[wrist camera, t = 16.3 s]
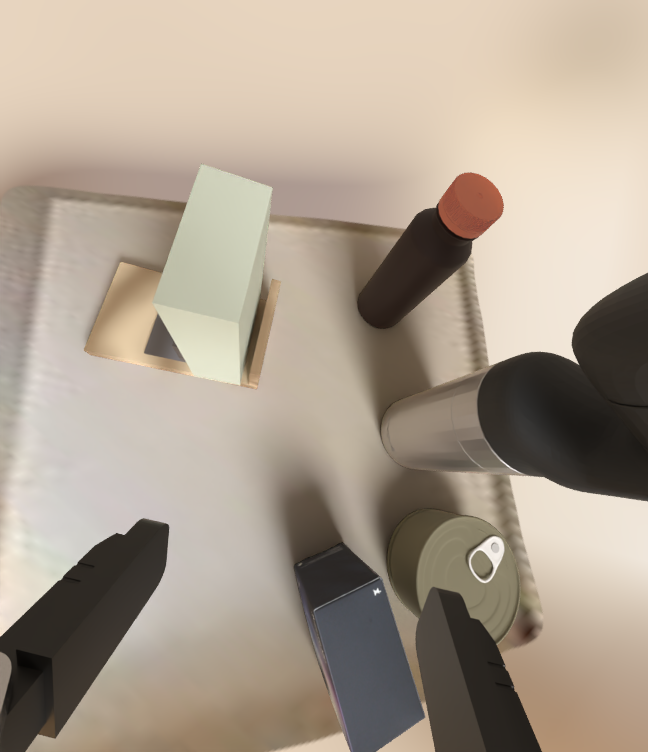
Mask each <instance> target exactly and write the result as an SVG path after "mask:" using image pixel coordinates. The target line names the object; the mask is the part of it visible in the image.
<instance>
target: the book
mask: <svg viewBox="0 0 648 752" xmlns="http://www.w3.org/2000/svg"><path fill="white" fill-rule="evenodd" d="M272 190H273V188H272V187H270V186H267V185H264V184H261V183H258V182H255V181H252V180H249V179H246V178H242V177H240V176H237V175H234V174H231V173H227V172H224V171H222V170H219V169H216V168H213V167H210V166H206V165H204V164H201V165H200V168H199V171H198V174H197V177H196V180H195V182H194V185H193V188H192V191H191V194H190V197H189V199H188V202H187V205H186V208H185V211H184V214H183V216H182V219H181V222H180V225H179V228H178V231H177V233H176V236H175V239H174V242H173V245H172V248H171V250H170V253H169V256H168V259H167V262H166V265H165V267H164V270H163V273H162V276H161V279H160V282H159V285H158V287H157V290H156V293H155V296H154V299H153V302H152V303H153V305H154V307H155V309H156V310H157V312H158V314H159V316H160V317H161V319H162V321H163V323H164V324H165V326H166V328H167V330H168V331H169V333H170V335H171V337H172V338H173V340H174V342H175V344H176V345H177V347H178V349H179V351H180V352H181V354H182V356H183V358H184V359H185V361H186V363H187V365H188V366H189V368H190V370H191V372H192V373H193V375H194V376H195V377H200V378H205V379H210V380H215V381H220V382H225V383H231V384H236V385H240V384H241V380H242V375H243V371H244V367H245V362H246V358H247V354H248V350H249V345H250V341H251V337H252V333H253V328H254V324H255V320H256V315H257V311H258V307H259V303H260V296H261V287H262V278H263V269H264V260H265V252H266V243H267V234H268V225H269V216H270V207H271V199H272Z"/></svg>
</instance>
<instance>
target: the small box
mask: <svg viewBox="0 0 648 752" xmlns="http://www.w3.org/2000/svg"><path fill="white" fill-rule="evenodd" d="M294 569H295V574H296V579H297V583H298V587H299V592H300V595H301V600H302V604H303V607H304V611H305V615H306V619H307V623H308V627H309V631H310V635H311V638H312V642H313V645H314V649H315V652H316V656H317V660H318V663H319V666H320V669H321V672H322V675H323V678H324V681H325V684H326V687H327V690H328V693H329V695H330V698H331V701H332V704H333V706H334V709H335V712H336V715H337V718H338V720H339V723H340V726H341V728H342V731H343V733H344V736H345V739H346V741H347V743H348V746H349V749H350V751H351V752H376V751H378V750H379V749H380V748H382V747H383V746H385V745H386V744H388V743H389V742H391V741H392V740H393V739H395V738H396V737H398V736H399V735H401V734H402V733H403V732H405V731H406V730H408V729H409V728H411V727H412V726H413V725H415V724H416V723H418V722H419V721H421V720H422V719H424V718H425V714H424V711H423V708H422V704H421V701H420V698H419V695H418V692H417V688H416V685H415V682H414V679H413V676H412V672H411V669H410V666H409V663H408V660H407V656H406V653H405V650H404V647H403V644H402V640H401V637H400V634H399V631H398V628H397V625H396V621H395V618H394V615H393V612H392V609H391V605H390V602H389V599H388V596H387V593H386V590H385V587H384V583H383V580H382V578H381V577H380V576H379V575H378V574H377V573H376V572H374V571H373V570H372V569H371V568H370V567H369V566H368V565H367V564H365V562H363V561H362V560H361V559H360V558H359V557H358V556H356V555H355V554H354V553H353V552H352V551H351V550H350V549H349V548H348V547H347V546H346V545H345V544H344V543H341V544H338V545H336V546H335V547H332V548H330V549H328V550H326V551H324V552H322V553H319V554H316V555H315V556H312V557H308V558H307V559H305V560H303V561H301V562H300V563H297V564H295V565H294Z"/></svg>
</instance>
